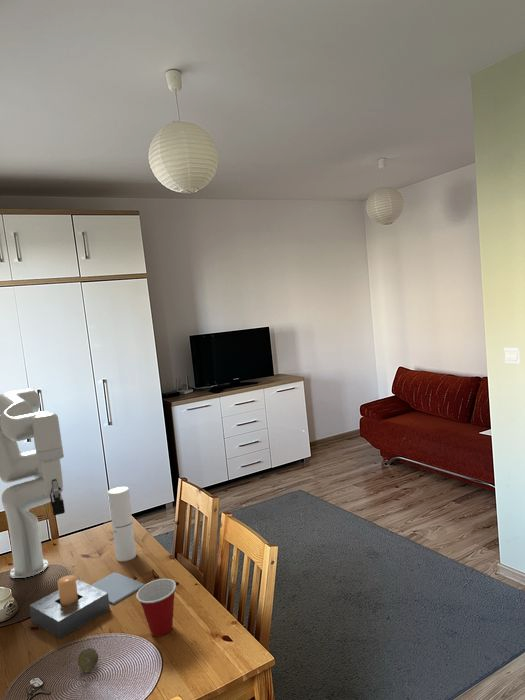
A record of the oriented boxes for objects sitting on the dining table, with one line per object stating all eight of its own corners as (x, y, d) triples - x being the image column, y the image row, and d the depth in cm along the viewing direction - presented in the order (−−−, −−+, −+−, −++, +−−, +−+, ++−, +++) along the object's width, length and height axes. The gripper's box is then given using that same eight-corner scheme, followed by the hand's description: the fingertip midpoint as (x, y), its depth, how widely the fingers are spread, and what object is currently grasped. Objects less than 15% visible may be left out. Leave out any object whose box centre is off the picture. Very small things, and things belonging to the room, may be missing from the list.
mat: (83, 590, 166) (83, 588, 166) (114, 573, 175) (114, 572, 175) (113, 604, 156) (113, 602, 156) (144, 585, 165) (144, 584, 165)
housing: (31, 621, 151) (29, 605, 151) (79, 594, 163) (78, 579, 163) (60, 638, 141) (58, 621, 141) (109, 609, 153) (107, 593, 153)
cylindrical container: (130, 561, 183) (122, 493, 181) (112, 561, 184) (104, 493, 182) (139, 551, 190) (131, 486, 188) (121, 551, 191) (114, 486, 189)
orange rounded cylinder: (58, 617, 152) (54, 581, 151) (73, 608, 156) (69, 573, 155) (68, 622, 149) (63, 586, 148) (83, 613, 153) (78, 577, 152)
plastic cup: (137, 626, 143) (132, 585, 143) (175, 613, 148) (170, 574, 147) (144, 648, 133) (139, 604, 133) (185, 634, 138) (180, 591, 137)
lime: (100, 661, 130) (97, 642, 130) (94, 675, 125) (92, 655, 125) (82, 663, 130) (80, 644, 129) (76, 677, 125) (73, 657, 125)
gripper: (35, 452, 161) (43, 505, 162) (37, 462, 146) (46, 521, 147) (61, 447, 165) (68, 499, 165) (65, 456, 149) (73, 514, 150)
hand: (58, 509), depth 156 cm, fingers open, 9 cm apart
